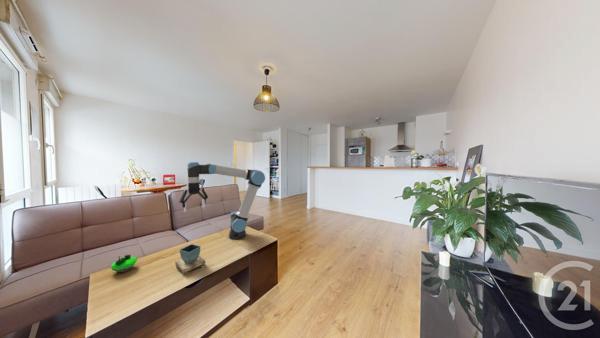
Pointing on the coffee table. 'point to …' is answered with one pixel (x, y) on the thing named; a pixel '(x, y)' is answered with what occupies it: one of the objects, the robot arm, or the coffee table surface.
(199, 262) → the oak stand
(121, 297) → the coffee table surface
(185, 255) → the flower pot
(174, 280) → the coffee table surface
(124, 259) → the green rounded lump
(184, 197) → the robot arm
